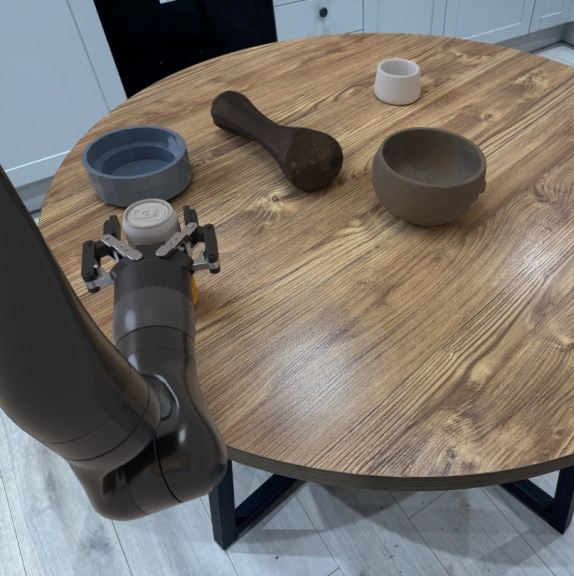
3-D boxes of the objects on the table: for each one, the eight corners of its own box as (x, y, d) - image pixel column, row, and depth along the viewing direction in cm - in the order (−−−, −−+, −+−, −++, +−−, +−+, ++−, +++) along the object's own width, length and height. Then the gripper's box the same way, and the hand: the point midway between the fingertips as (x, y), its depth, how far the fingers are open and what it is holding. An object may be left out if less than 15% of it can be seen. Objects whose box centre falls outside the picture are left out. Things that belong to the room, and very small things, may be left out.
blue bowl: (80, 210, 88) (66, 177, 84) (110, 155, 99) (100, 123, 94) (181, 212, 89) (173, 179, 84) (201, 157, 99) (194, 126, 95)
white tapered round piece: (403, 111, 115) (406, 82, 110) (364, 96, 118) (365, 68, 114) (434, 90, 122) (437, 62, 118) (396, 76, 125) (398, 49, 121)
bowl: (492, 194, 96) (504, 142, 89) (454, 256, 85) (464, 201, 78) (399, 165, 101) (404, 113, 94) (351, 219, 89) (352, 165, 82)
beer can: (197, 318, 74) (172, 228, 63) (148, 321, 73) (114, 230, 62) (201, 285, 78) (178, 195, 67) (154, 287, 77) (124, 197, 66)
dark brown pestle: (338, 198, 96) (242, 149, 112) (355, 137, 93) (254, 95, 108) (289, 194, 88) (192, 141, 103) (307, 127, 85) (204, 82, 100)
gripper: (222, 276, 56) (208, 181, 66) (63, 302, 52) (75, 198, 63) (233, 327, 61) (218, 231, 72) (89, 353, 58) (96, 249, 68)
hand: (151, 216), depth 67 cm, fingers open, 7 cm apart
